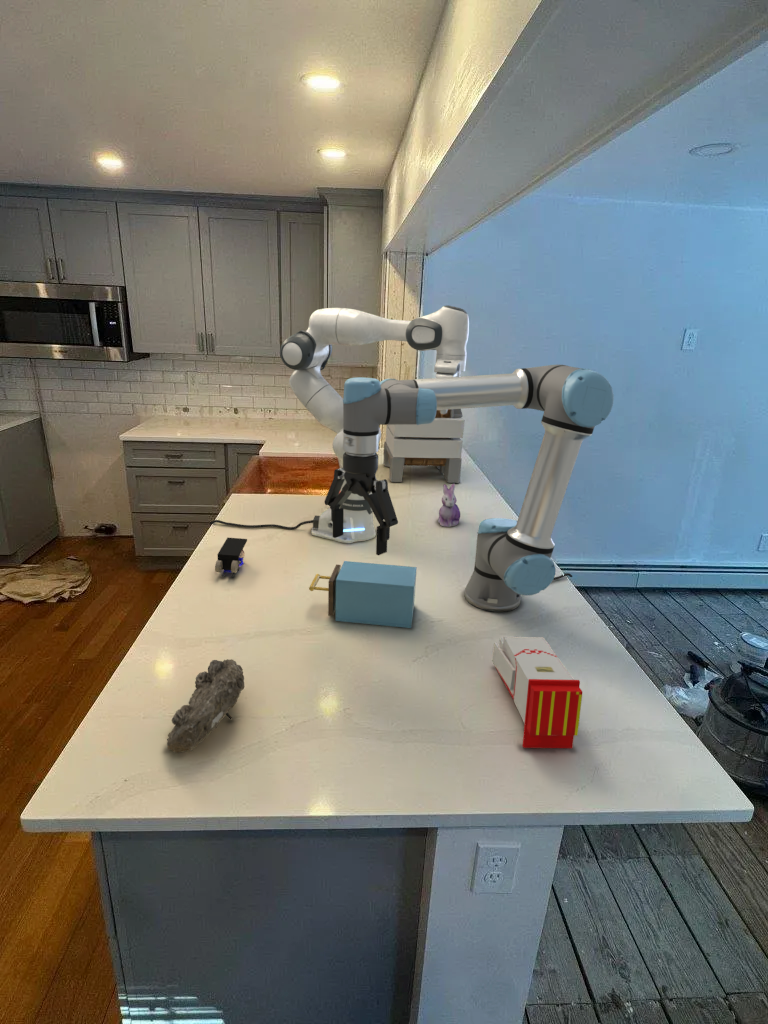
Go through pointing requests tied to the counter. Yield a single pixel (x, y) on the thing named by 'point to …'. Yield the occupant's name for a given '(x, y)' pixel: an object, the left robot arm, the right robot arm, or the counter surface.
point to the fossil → (206, 705)
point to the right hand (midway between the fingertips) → (359, 544)
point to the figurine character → (230, 556)
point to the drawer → (330, 589)
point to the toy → (539, 691)
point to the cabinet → (375, 594)
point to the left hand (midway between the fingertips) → (446, 411)
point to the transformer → (426, 446)
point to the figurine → (449, 508)
